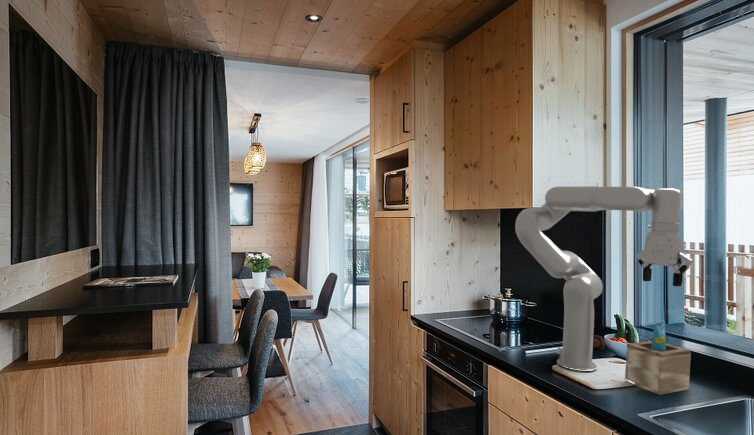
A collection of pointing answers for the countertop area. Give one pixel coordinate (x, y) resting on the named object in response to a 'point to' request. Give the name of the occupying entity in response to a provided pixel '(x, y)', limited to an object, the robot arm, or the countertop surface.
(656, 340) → the tube
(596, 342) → the brown oblong piece
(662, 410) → the countertop surface
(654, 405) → the countertop surface
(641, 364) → the box
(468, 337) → the countertop surface
